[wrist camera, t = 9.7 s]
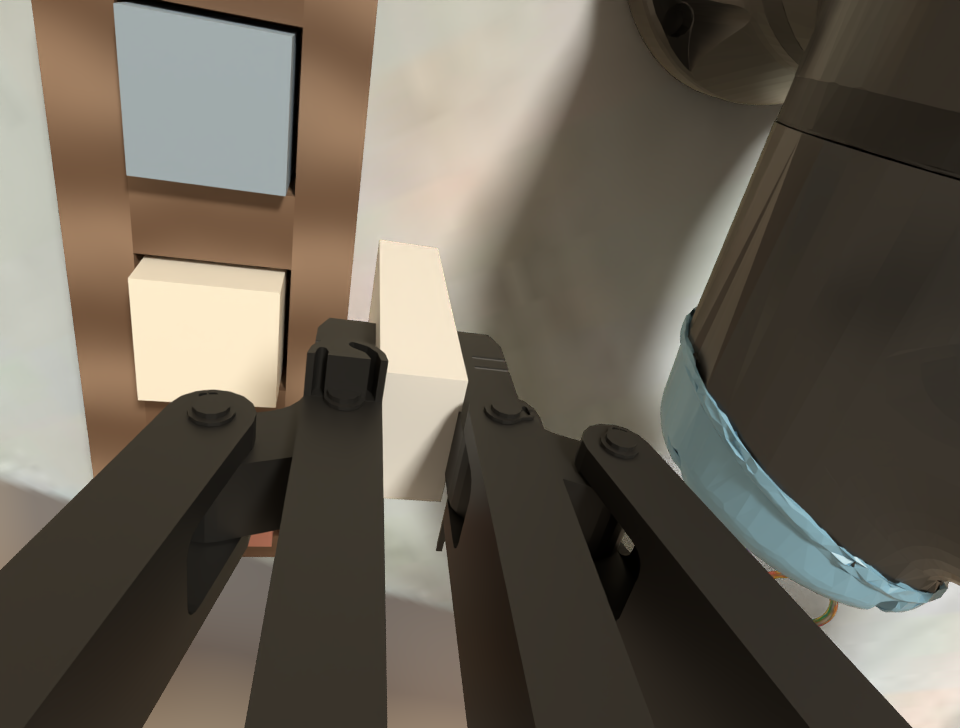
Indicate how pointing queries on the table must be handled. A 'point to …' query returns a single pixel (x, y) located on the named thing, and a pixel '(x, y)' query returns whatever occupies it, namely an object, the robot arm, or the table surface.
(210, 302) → the key cream
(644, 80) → the table surface
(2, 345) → the table surface
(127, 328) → the key panel
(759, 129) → the table surface
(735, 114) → the table surface
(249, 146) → the key blue
